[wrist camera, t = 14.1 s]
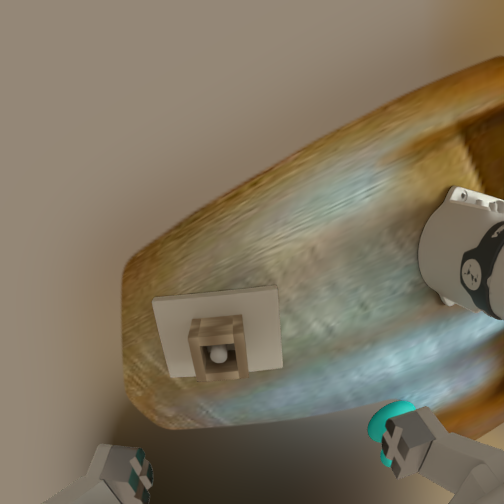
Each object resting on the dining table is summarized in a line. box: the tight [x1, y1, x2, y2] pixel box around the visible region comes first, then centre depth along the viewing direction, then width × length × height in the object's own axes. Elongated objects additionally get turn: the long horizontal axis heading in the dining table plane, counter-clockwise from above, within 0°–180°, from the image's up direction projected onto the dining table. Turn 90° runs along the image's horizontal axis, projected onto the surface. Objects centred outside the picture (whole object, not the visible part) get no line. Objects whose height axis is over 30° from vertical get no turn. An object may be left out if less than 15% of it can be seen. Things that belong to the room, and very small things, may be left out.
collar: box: [188, 314, 249, 382], centre depth 38 cm, size 6×6×5 cm
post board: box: [152, 285, 283, 377], centre depth 39 cm, size 16×12×6 cm
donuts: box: [368, 401, 416, 467], centre depth 44 cm, size 10×10×10 cm
